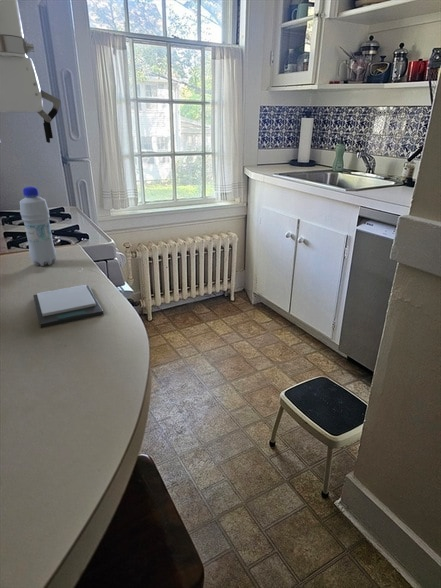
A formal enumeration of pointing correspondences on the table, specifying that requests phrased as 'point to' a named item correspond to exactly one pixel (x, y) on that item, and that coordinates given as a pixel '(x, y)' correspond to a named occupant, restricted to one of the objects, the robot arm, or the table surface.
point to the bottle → (37, 227)
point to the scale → (66, 305)
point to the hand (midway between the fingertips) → (24, 143)
